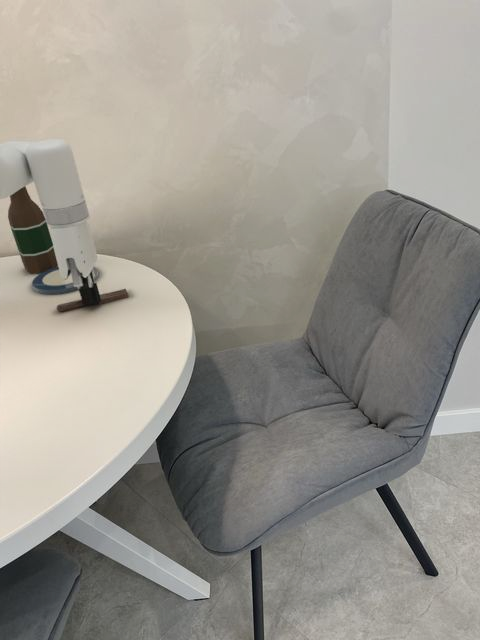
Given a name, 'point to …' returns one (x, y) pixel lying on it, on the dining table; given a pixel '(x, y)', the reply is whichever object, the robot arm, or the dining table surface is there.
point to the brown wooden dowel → (104, 299)
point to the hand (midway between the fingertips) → (92, 303)
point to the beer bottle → (31, 233)
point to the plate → (54, 282)
